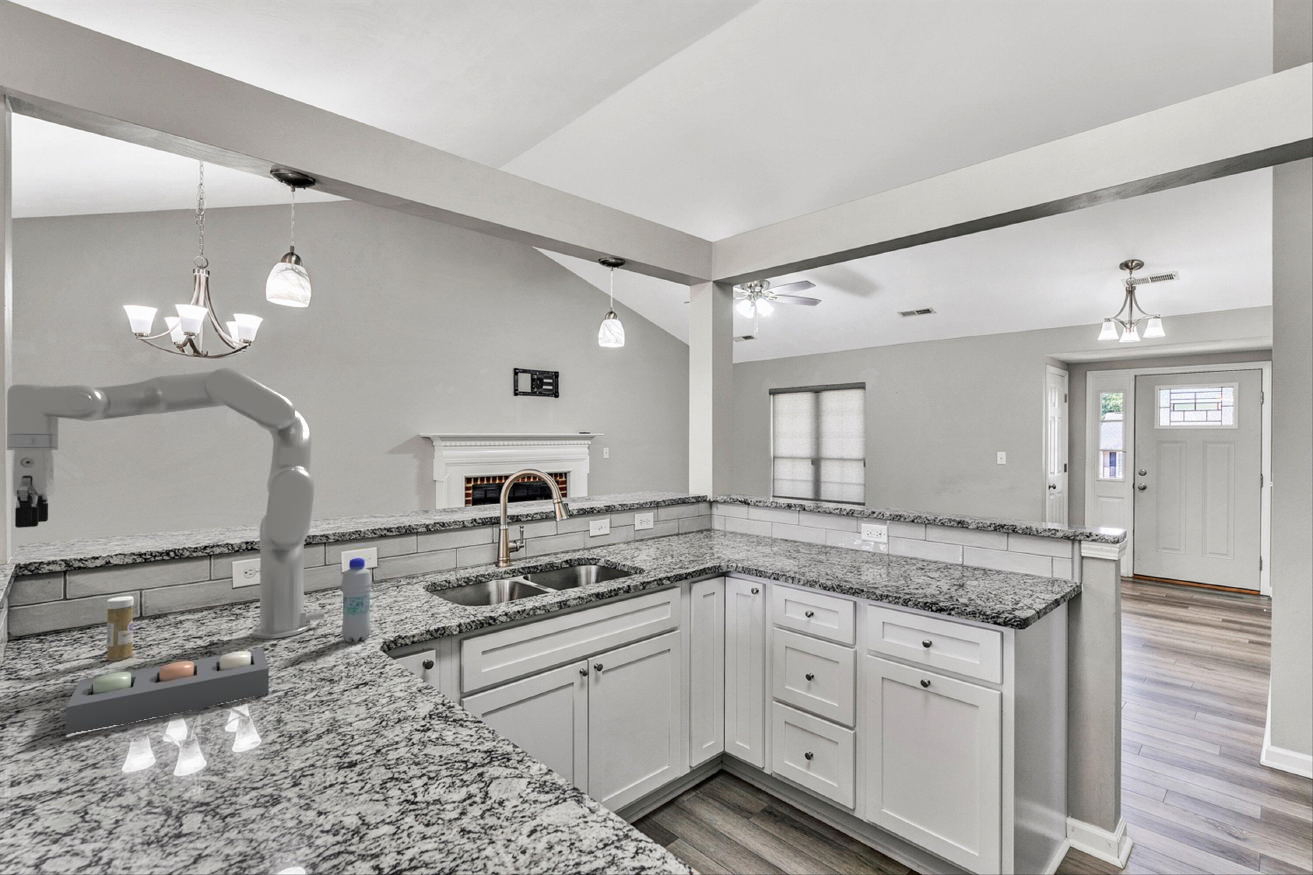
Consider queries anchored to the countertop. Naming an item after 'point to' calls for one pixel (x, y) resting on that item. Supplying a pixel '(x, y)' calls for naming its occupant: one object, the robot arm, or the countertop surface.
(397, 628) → the countertop surface
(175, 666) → the terracotta button
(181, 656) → the countertop surface
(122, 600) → the sprinkles bottle
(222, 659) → the cream button
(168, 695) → the button box
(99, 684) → the sage button
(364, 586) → the bottle
